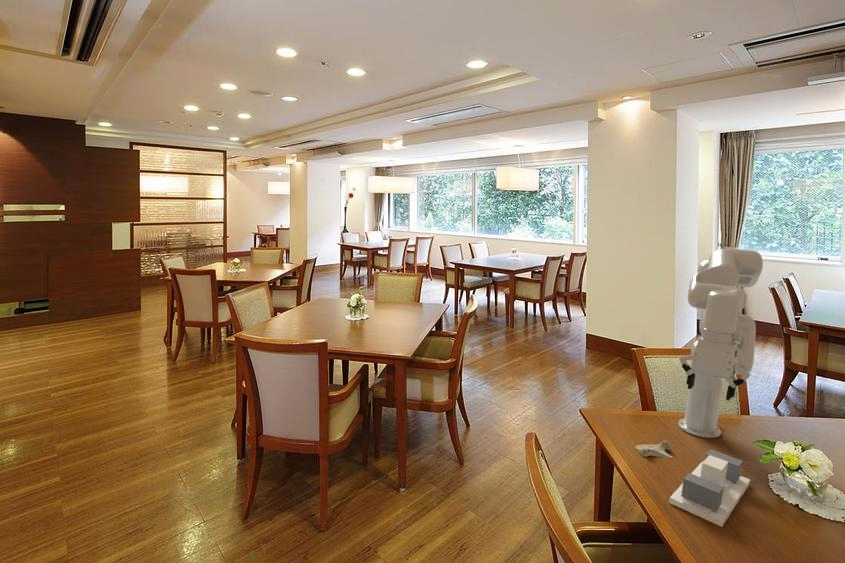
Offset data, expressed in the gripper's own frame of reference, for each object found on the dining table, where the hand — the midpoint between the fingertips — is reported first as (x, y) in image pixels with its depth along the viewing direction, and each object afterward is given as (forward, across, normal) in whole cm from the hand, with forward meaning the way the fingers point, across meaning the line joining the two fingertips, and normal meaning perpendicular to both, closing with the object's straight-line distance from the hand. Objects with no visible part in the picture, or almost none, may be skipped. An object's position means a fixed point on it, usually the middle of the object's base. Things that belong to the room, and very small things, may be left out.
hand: (709, 392), depth 135 cm
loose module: (+21, -6, +12) cm, 25 cm away
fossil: (+24, +12, +1) cm, 27 cm away
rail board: (+23, -6, +12) cm, 27 cm away
